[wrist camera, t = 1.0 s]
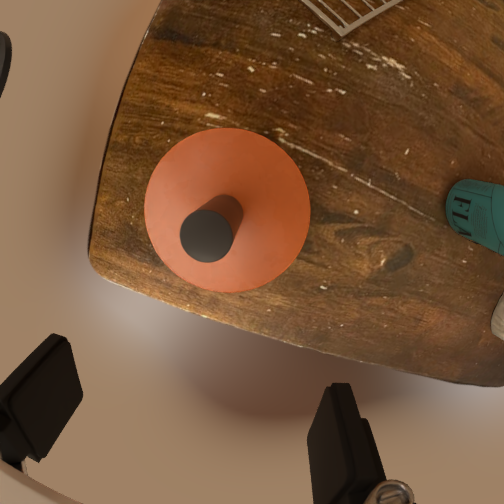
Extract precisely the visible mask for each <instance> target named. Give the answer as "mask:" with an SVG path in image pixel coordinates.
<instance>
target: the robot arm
mask: <svg viewBox="0 0 504 504" xmlns="http://www.w3.org/2000/svg"><path fill="white" fill-rule="evenodd" d="M82 398H83V391H82V388H81V384H80V381H79V377H78V374H77V369H76V365H75V361H74V357H73V353H72V349H71V345H70V343H69V342H68V340H67V338H66V337H63V336H60V335H57V334H54V333H53V334H51V335H50V336H49V337H48V338H47V339H45V341H43V342H42V343H41V344H40V345H39V346H38V347H37V348H36V349H35V350H34V351H33V352H32V353H31V354H30V355H29V356H28V357H27V358H26V359H25V360H24V361H23V362H22V363H21V364H20V365H19V366H18V367H17V368H16V369H15V370H14V371H13V372H12V373H11V374H10V375H9V377H8V378H7V379H6V380H5V381H4V382H3V383H2V384H1V385H0V504H82V503H80V502H77V501H75V500H73V499H71V498H69V497H66V496H64V495H62V494H60V493H58V492H56V491H54V490H52V489H50V488H48V487H47V486H45V485H43V484H41V483H39V482H37V481H35V480H34V479H32V478H30V477H29V476H28V473H27V468H26V464H25V458H26V456H28V457H29V458H31V459H33V460H34V461H36V462H38V463H39V462H40V460H41V459H42V458H45V457H46V456H47V454H48V452H49V451H50V449H51V448H52V446H53V444H54V443H55V441H56V440H57V438H58V436H59V435H60V433H61V432H62V430H63V428H64V427H65V425H66V424H67V422H68V421H69V419H70V418H71V416H72V415H73V413H74V411H75V410H76V408H77V407H78V405H79V404H80V402H81V401H82ZM307 446H308V455H309V464H310V473H311V482H312V492H313V501H314V502H313V503H314V504H416V503H414V494H413V492H412V489H411V488H410V487H409V486H408V485H407V484H405V483H404V482H401V481H398V480H387V479H386V476H385V473H384V469H383V466H382V463H381V459H380V456H379V453H378V450H377V447H376V443H375V440H374V437H373V434H372V431H371V428H370V425H369V422H368V420H367V419H366V418H361V417H360V414H359V411H358V408H357V404H356V401H355V398H354V395H353V392H352V389H351V386H350V384H349V383H332V385H331V387H326V389H325V391H324V394H323V397H322V400H321V402H320V405H319V407H318V410H317V413H316V415H315V418H314V420H313V423H312V425H311V428H310V430H309V433H308V436H307Z"/></svg>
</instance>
